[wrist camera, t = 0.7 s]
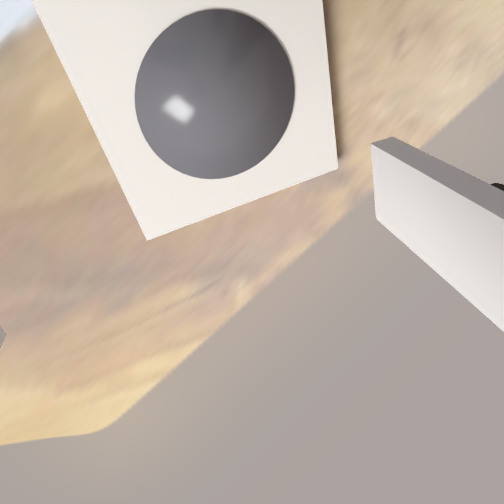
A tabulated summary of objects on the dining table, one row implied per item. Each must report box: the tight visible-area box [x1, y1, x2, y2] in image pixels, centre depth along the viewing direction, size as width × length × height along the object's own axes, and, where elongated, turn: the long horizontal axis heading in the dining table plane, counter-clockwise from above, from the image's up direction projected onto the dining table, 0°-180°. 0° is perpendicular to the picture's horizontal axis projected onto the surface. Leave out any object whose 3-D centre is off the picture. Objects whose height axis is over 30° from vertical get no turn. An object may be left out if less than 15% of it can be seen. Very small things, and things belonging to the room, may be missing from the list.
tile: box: [32, 0, 338, 240], centre depth 26 cm, size 15×15×1 cm
